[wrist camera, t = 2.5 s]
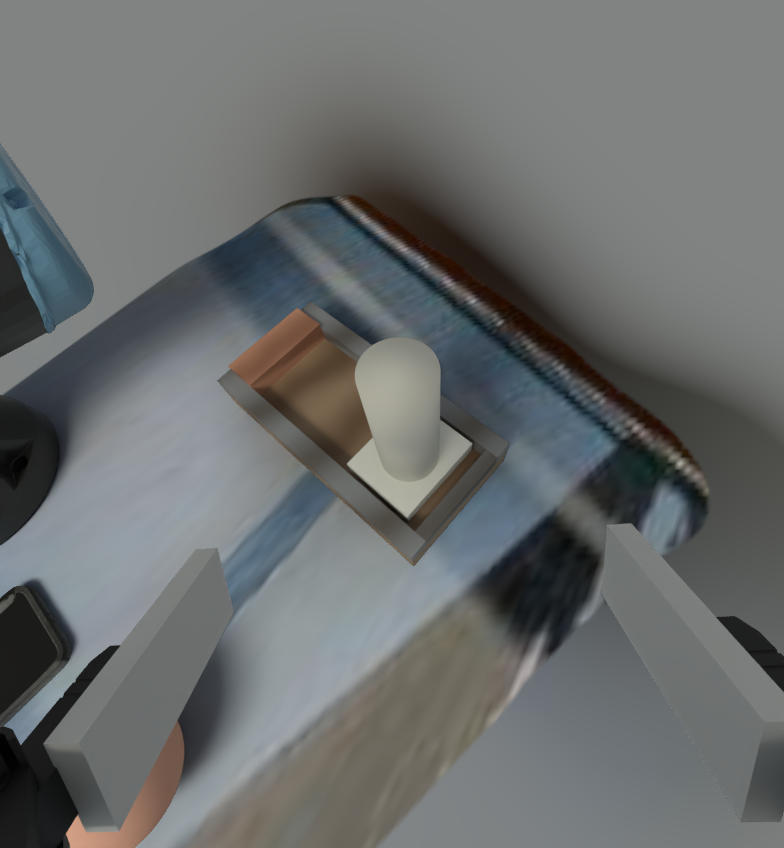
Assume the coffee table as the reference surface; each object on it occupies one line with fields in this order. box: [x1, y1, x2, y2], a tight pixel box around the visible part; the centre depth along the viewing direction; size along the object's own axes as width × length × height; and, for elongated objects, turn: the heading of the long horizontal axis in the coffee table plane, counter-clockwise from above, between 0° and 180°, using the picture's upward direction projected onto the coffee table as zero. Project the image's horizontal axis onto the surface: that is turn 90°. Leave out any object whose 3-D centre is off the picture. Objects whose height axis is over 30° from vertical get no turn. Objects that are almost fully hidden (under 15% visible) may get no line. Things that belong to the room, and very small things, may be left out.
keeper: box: [347, 337, 472, 522], centre depth 28 cm, size 6×7×12 cm
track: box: [217, 302, 510, 566], centre depth 36 cm, size 22×11×4 cm, turn 47°
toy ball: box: [66, 720, 184, 848], centre depth 25 cm, size 8×8×8 cm
